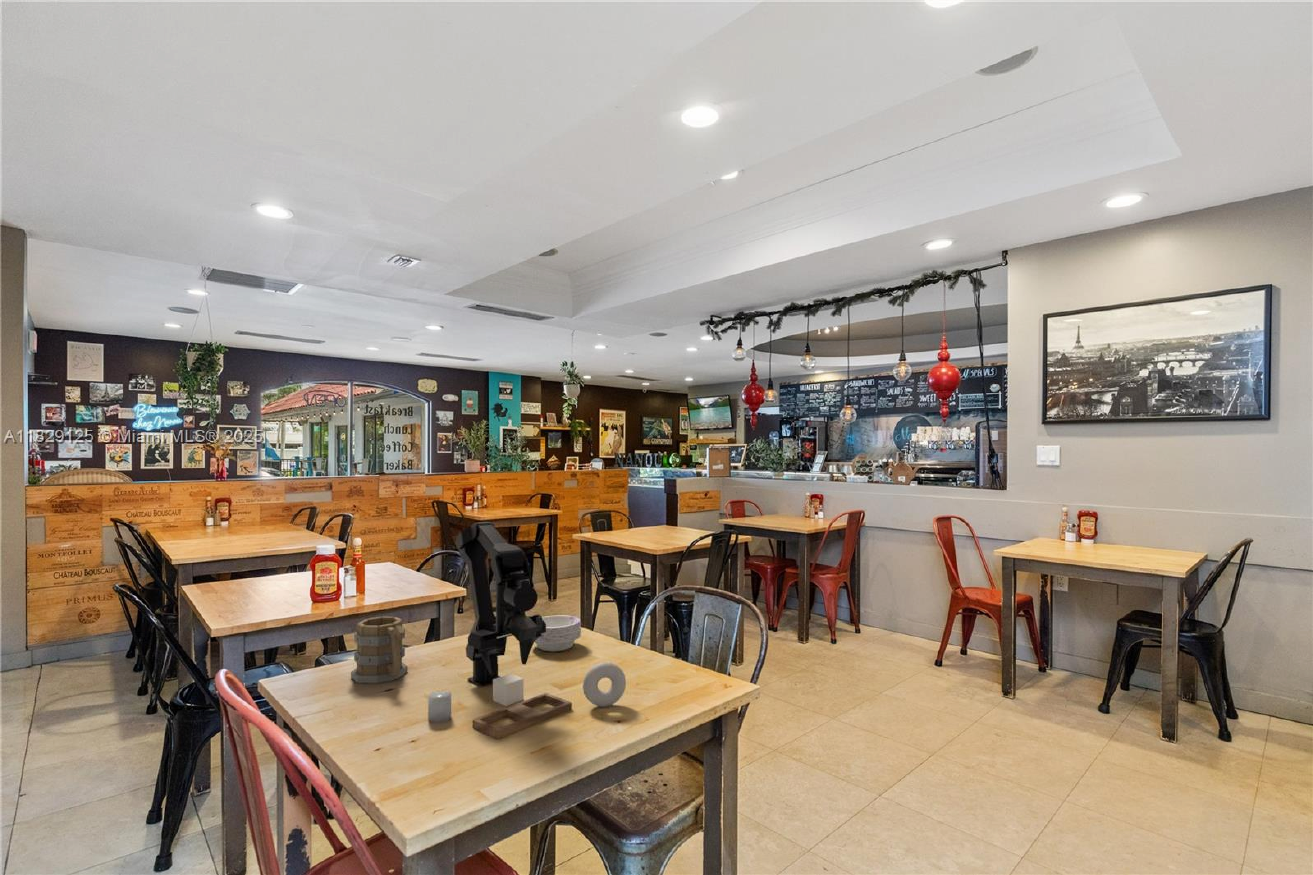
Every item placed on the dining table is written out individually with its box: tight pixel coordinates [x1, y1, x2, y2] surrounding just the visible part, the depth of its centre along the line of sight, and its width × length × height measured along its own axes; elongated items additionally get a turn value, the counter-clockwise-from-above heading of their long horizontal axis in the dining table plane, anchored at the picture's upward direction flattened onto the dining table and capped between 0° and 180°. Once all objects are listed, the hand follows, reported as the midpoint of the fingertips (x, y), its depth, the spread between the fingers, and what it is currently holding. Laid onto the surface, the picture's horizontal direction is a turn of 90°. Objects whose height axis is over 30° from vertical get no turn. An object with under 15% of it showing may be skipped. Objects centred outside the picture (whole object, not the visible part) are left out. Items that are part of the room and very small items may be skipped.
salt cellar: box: [427, 690, 452, 724], centre depth 142 cm, size 5×5×5 cm
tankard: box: [350, 616, 409, 684], centre depth 167 cm, size 20×13×15 cm, turn 42°
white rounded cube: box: [492, 673, 525, 707], centre depth 152 cm, size 5×5×5 cm
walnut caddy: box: [472, 692, 573, 740], centre depth 142 cm, size 9×20×2 cm, turn 139°
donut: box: [582, 661, 627, 708], centre depth 149 cm, size 10×4×10 cm, turn 105°
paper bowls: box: [534, 614, 582, 652], centre depth 193 cm, size 15×15×8 cm
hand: (508, 669), depth 153 cm, fingers open, 9 cm apart
